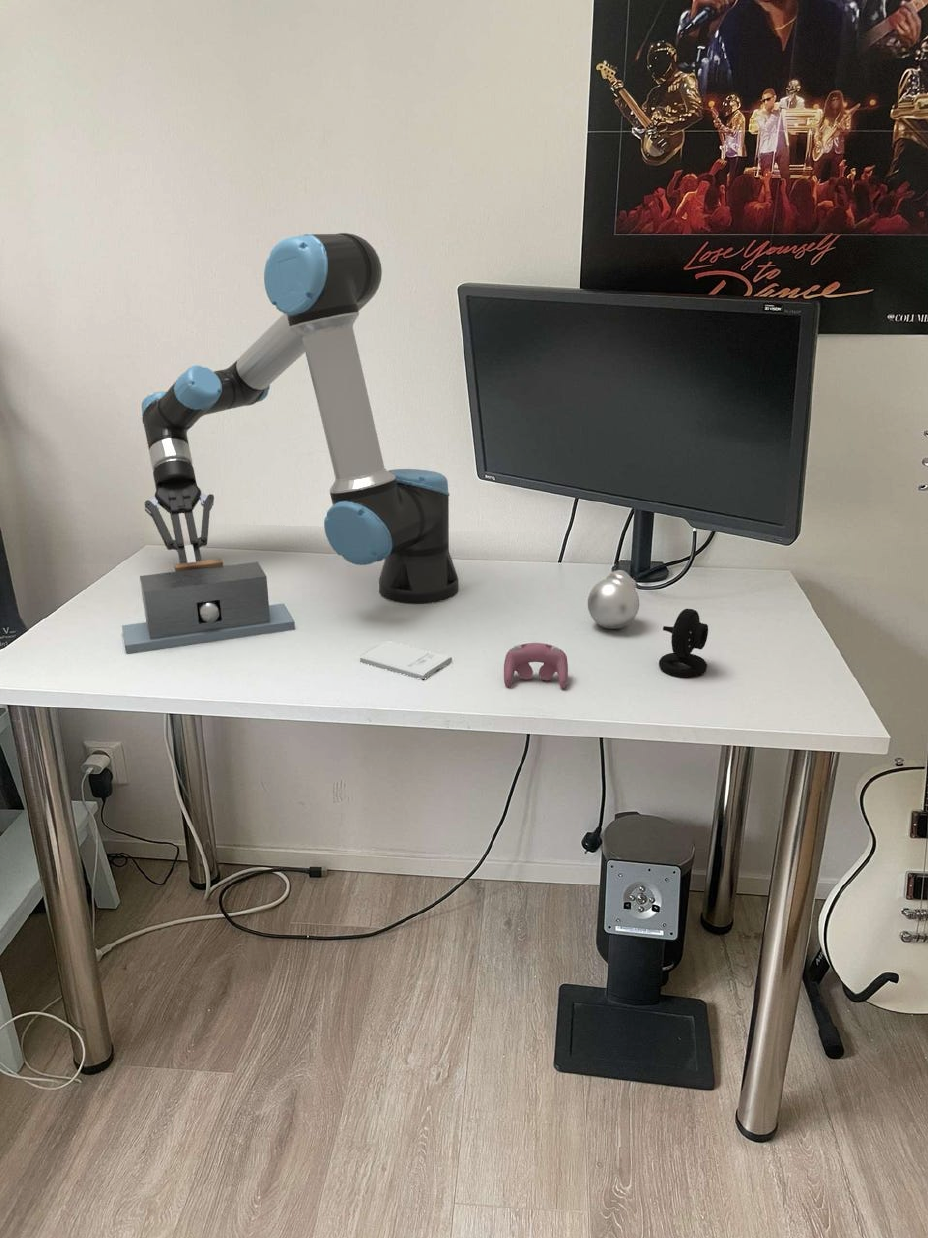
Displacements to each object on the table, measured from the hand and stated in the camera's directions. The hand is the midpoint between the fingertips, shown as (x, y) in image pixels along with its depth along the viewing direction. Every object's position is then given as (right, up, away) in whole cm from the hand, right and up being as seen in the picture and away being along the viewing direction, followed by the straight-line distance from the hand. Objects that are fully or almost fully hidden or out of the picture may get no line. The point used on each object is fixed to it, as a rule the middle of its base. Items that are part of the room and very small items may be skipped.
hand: (194, 579), depth 184 cm
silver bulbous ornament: (+75, -9, -8) cm, 76 cm away
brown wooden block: (+5, -9, -8) cm, 13 cm away
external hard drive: (+40, -15, -21) cm, 47 cm away
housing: (+5, -9, -9) cm, 14 cm away
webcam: (+84, -15, -24) cm, 88 cm away
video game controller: (+60, -17, -28) cm, 68 cm away
